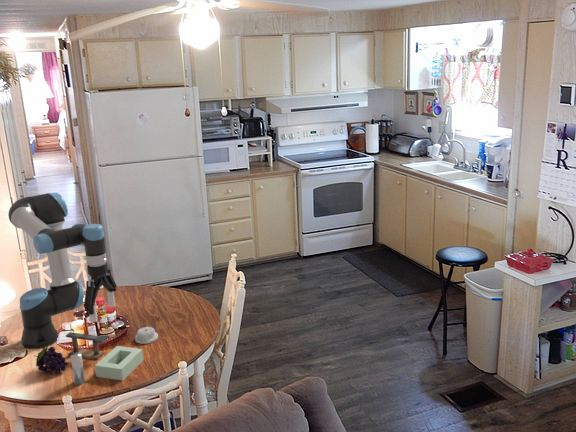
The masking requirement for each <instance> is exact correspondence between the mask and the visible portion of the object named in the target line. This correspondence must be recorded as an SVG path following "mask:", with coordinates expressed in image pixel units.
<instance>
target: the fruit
mask: <svg viewBox="0 0 576 432" xmlns="http://www.w3.org/2000/svg"><path fill="white" fill-rule="evenodd" d="M49 346H50V347H49ZM33 356H34V357H36V362H35V365H36V366H35V367H36V368H37V367H38V368H37V369H38V371H40V372H41V373H46V372H48V371H50V372H51V373H57V374H60V372H65V371H66V369H67V366H68V364H69V362H68V361H66V357H64V356H63V353H62V352H57V351H56V348H55V347H54V346H51V345H50V344H49V345H48V346H46V347H43V348H41V351H40V352H38V355H35V354H34V355H33Z"/></svg>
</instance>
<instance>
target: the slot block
mask: <svg viewBox="0 0 576 432" xmlns="http://www.w3.org/2000/svg"><path fill="white" fill-rule="evenodd" d="M144 359H145V358H144V350H143V348H137V347H129V346H121V345H116V346H115V347H114V348H113V349H112V350H111V351H109V352H108V353H107V354H106V355H105V356H104V357H103V358H101V359H100V360H99V361H98V362H97V363H96V364H95V365H94V371H95V377H96V378H104V379H110V380H116V381H124V380H125V379H126V378H127V377H128V376H129V375H130V374H131V373H132V372H133V371H134V370H136V368H138V367H139V365H140V364H141V363H142V362H144Z"/></svg>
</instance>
